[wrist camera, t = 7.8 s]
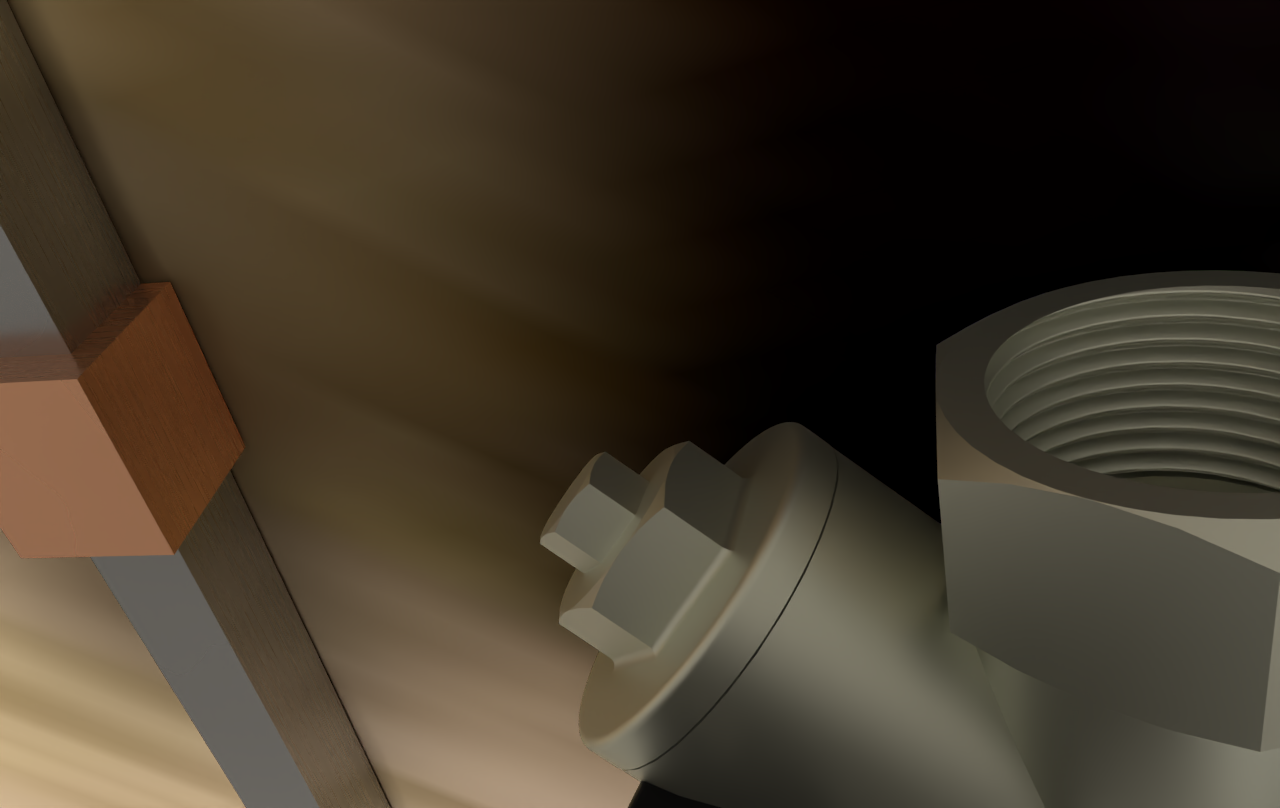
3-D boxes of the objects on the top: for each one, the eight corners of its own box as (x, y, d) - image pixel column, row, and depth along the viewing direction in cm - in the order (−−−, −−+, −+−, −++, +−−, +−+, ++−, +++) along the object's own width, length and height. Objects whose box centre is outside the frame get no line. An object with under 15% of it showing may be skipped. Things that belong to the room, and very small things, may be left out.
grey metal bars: (1199, 1068, 17) (1235, 1183, 16) (429, 1026, 19) (405, 1124, 18) (1848, -297, 6) (2152, -284, 5) (-166, -36, 8) (-343, 21, 7)
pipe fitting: (407, 560, 7) (1708, 544, 5) (580, 312, 10) (1386, 238, 8) (648, 1178, 10) (1431, 1328, 8) (716, 850, 14) (1289, 897, 11)
